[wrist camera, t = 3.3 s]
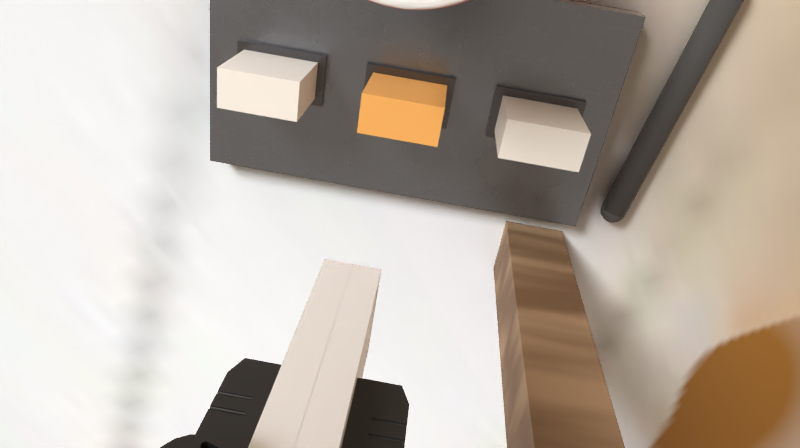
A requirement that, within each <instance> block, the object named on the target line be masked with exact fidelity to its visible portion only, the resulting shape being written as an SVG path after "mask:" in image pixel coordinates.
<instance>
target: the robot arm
mask: <svg viewBox="0 0 800 448" xmlns="http://www.w3.org/2000/svg"><path fill="white" fill-rule="evenodd" d="M380 274H381V269H376V268H370V267H365V266H360V265H354V264H349V263H343V262H338V261H332V260H327V259H325V260H324V262H323V264H322V267H321V269H320V272H319V274H318V277H317V279H316V282H315V284H314V287H313V289H312V292H311V294H310V296H309V299H308V301H307V304H306V306H305V309H304V311H303V314H302V316H301V319H300V321H299V324H298V326H297V328H296V331H295V333H294V336H293V338H292V341H291V343H290V346H289V348H288V351H287V353H286V356H285V358H284V360H283V363H282V365H279V364H274V363H268V362H263V361H258V360H252V359H247V358H245V359H243V360H242V361H241V362H240V363H239V364H237V365H236V366H235V367H234V368H232V369H231V370H230V371H229V372H228V373H227V375H226V377H225V378H224V380H223V382H222V384H221V386H220V388H219V390H218V394H216V396H215V398H214V400H213V402H212V404H211V406H210V409H208V411H207V413H206V415H205V417H204V419H203V421H202V423H201V425H200V427H199V429H198V431H197V433H196V435H187V436H183V437H180V438H176V439H174V440H172V441H170V442H169V443H167V444H165V445H164V446H162V447H161V448H404V443H405V435H406V426H407V418H408V409H409V403H408V401H407V398H406V395H405V393H404V390H403V388H402V386H400V385H395V384H389V383H384V382H379V381H373V380H368V379H362V375H363V371H364V366H365V362H366V357H367V353H368V348H369V341H370V335H371V329H372V323H373V317H374V311H375V305H376V298H377V292H378V286H379V280H380Z"/></svg>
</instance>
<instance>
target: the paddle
mask: <svg viewBox="0 0 800 448" xmlns="http://www.w3.org/2000/svg"><path fill="white" fill-rule="evenodd" d="M317 68H318V62H312V61H306V60H301V59H295V58H289V57H284V56H278V55H273V54H267V53H261V52H256V51H250V50H243V51H241V52H240V53H238V54H237V55H235V56H234V57H232V58H231V59H229V60H228V61H226V62H225V63H223V64H222V65H220V66H219V67H217V108H221V109H227V110H232V111H238V112H244V113H249V114H255V115H260V116H266V117H272V118H277V119H283V120H288V121H294V122H297V121H298V120H299V119H300V117H301V116H302V115H303V113H304V112H305V111H306V110H307V108H308V107H309V106H310V104H311V103H312V102H313V100H314V99H315V91H316V79H317Z"/></svg>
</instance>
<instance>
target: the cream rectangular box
mask: <svg viewBox="0 0 800 448" xmlns="http://www.w3.org/2000/svg"><path fill="white" fill-rule="evenodd" d="M590 136H591V133H590V131H589V129H588V127H587V125H586V123H585V122H584V120H583V118H582V116H581V114H580V112H579V111H578V109H577V108H572V107H566V106H561V105H555V104H549V103H544V102H538V101H532V100H527V99H521V98H515V97H510V96H504V95H503V97H502V101H501V105H500V110H499V114H498V118H497V122H496V126H495V139H496V147H497V155H498V158H501V159H507V160H512V161H518V162H524V163H529V164H535V165H540V166H546V167H552V168H557V169H563V170H568V171H574V172H579V170H580V167H581V164H582V161H583V158H584V155H585V151H586V148H587V145H588V142H589V139H590Z"/></svg>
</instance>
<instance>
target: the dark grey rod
mask: <svg viewBox="0 0 800 448" xmlns="http://www.w3.org/2000/svg"><path fill="white" fill-rule="evenodd" d="M742 2H743V0H710V1H709V3H708V5H707V7H706V9H705V11H704V13H703V14H702V16H701V18H700V20H699V22H698V24H697V26H696V28H695V30H694V32H693V34H692V35H691V37H690V39H689V41H688V43H687V45H686V47H685V49H684V51H683V53H682V54H681V56H680V58H679V60H678V62H677V64H676V66H675V68H674V70H673V72H672V73H671V75H670V77H669V79H668V81H667V83H666V85H665V87H664V89H663V91H662V93H661V94H660V96H659V98H658V100H657V102H656V104H655V106H654V108H653V110H652V112H651V113H650V115H649V117H648V119H647V121H646V123H645V125H644V127H643V129H642V131H641V133H640V134H639V136H638V138H637V140H636V142H635V144H634V146H633V148H632V150H631V152H630V153H629V155H628V157H627V159H626V161H625V163H624V165H623V167H622V169H621V171H620V172H619V174H618V176H617V178H616V180H615V182H614V184H613V186H612V188H611V190H610V192H609V193H608V195H607V197H606V199H605V201H604V203H603V205H602V207H601V214H602V216H603V218H604V219H605V220H607V221H609V222H618V221H620V220H621V219H623V217H624V216H625V214H626V212H627V211H628V209H629V207H630V205H631V203H632V202H633V200H634V198H635V196H636V194H637V192H638V191H639V189H640V187H641V185H642V183H643V182H644V180H645V178H646V176H647V174H648V172H649V171H650V169H651V167H652V165H653V163H654V162H655V160H656V158H657V156H658V154H659V153H660V151H661V149H662V147H663V145H664V143H665V142H666V140H667V138H668V136H669V134H670V133H671V131H672V129H673V127H674V125H675V124H676V122H677V120H678V118H679V116H680V114H681V113H682V111H683V109H684V107H685V105H686V104H687V102H688V100H689V98H690V96H691V95H692V93H693V91H694V89H695V87H696V85H697V84H698V82H699V80H700V78H701V76H702V75H703V73H704V71H705V69H706V67H707V66H708V64H709V62H710V60H711V58H712V56H713V55H714V53H715V51H716V49H717V47H718V46H719V44H720V42H721V40H722V38H723V37H724V35H725V33H726V31H727V29H728V27H729V26H730V24H731V22H732V20H733V18H734V17H735V15H736V13H737V11H738V9H739V8H740V6H741V4H742Z"/></svg>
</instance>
